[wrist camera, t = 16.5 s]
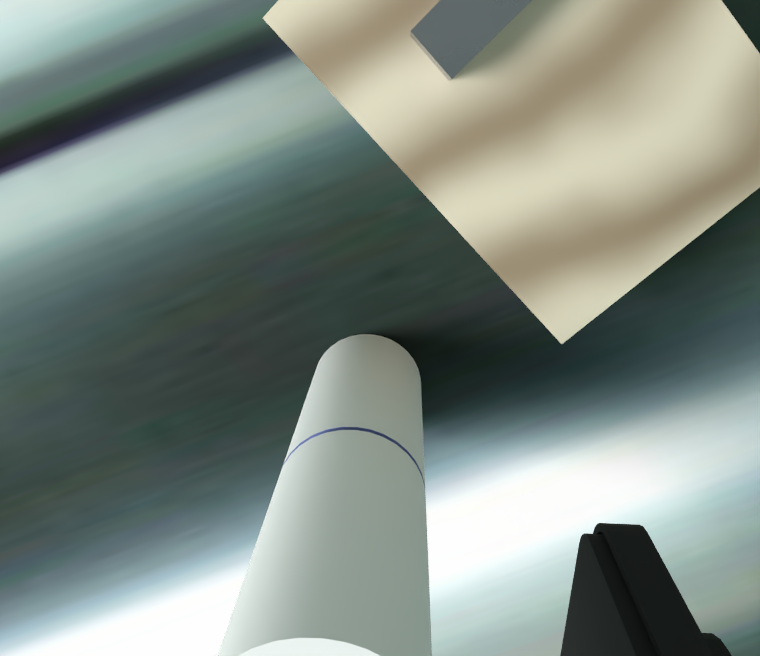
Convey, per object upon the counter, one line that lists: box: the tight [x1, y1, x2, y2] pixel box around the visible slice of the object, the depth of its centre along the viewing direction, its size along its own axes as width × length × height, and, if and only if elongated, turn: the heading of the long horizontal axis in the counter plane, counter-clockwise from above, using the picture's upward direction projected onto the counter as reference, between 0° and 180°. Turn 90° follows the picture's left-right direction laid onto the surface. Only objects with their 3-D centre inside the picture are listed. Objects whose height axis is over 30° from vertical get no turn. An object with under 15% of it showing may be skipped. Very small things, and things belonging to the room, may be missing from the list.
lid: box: [263, 0, 760, 344], centre depth 27 cm, size 20×14×4 cm
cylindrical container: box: [218, 334, 432, 656], centre depth 31 cm, size 7×7×25 cm
